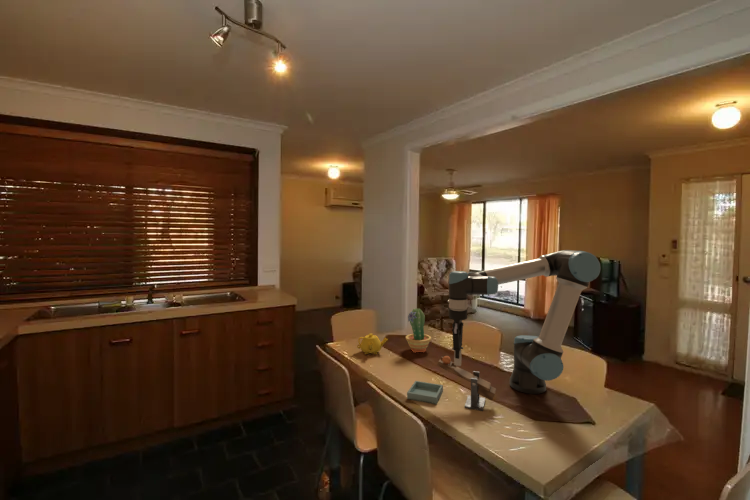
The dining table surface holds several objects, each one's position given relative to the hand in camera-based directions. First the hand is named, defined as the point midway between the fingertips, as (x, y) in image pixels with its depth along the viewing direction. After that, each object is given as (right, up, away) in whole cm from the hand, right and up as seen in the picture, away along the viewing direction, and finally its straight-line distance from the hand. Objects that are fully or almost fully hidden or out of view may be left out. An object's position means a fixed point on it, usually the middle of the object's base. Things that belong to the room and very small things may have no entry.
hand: (457, 364), depth 144 cm
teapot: (-36, -13, +60) cm, 71 cm away
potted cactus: (-8, -12, +64) cm, 65 cm away
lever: (+2, -7, -1) cm, 8 cm away
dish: (-13, -15, +6) cm, 21 cm away
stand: (+7, -15, -2) cm, 17 cm away
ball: (-4, +1, +2) cm, 5 cm away
